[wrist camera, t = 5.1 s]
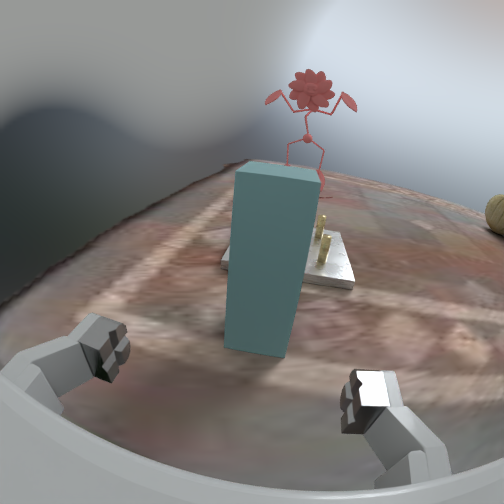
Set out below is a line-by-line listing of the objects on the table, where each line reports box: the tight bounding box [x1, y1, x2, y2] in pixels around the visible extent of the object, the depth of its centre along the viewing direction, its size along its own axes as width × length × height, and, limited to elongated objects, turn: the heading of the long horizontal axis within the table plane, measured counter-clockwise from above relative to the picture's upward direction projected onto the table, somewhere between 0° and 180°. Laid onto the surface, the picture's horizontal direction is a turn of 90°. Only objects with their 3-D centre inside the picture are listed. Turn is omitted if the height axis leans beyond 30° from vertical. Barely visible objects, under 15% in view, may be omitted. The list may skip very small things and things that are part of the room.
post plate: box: [221, 215, 355, 290], centre depth 39 cm, size 16×16×5 cm
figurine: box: [265, 69, 357, 198], centre depth 70 cm, size 15×26×35 cm, turn 75°
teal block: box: [224, 161, 321, 358], centre depth 21 cm, size 5×5×14 cm
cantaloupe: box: [485, 194, 504, 235], centre depth 70 cm, size 15×15×15 cm
